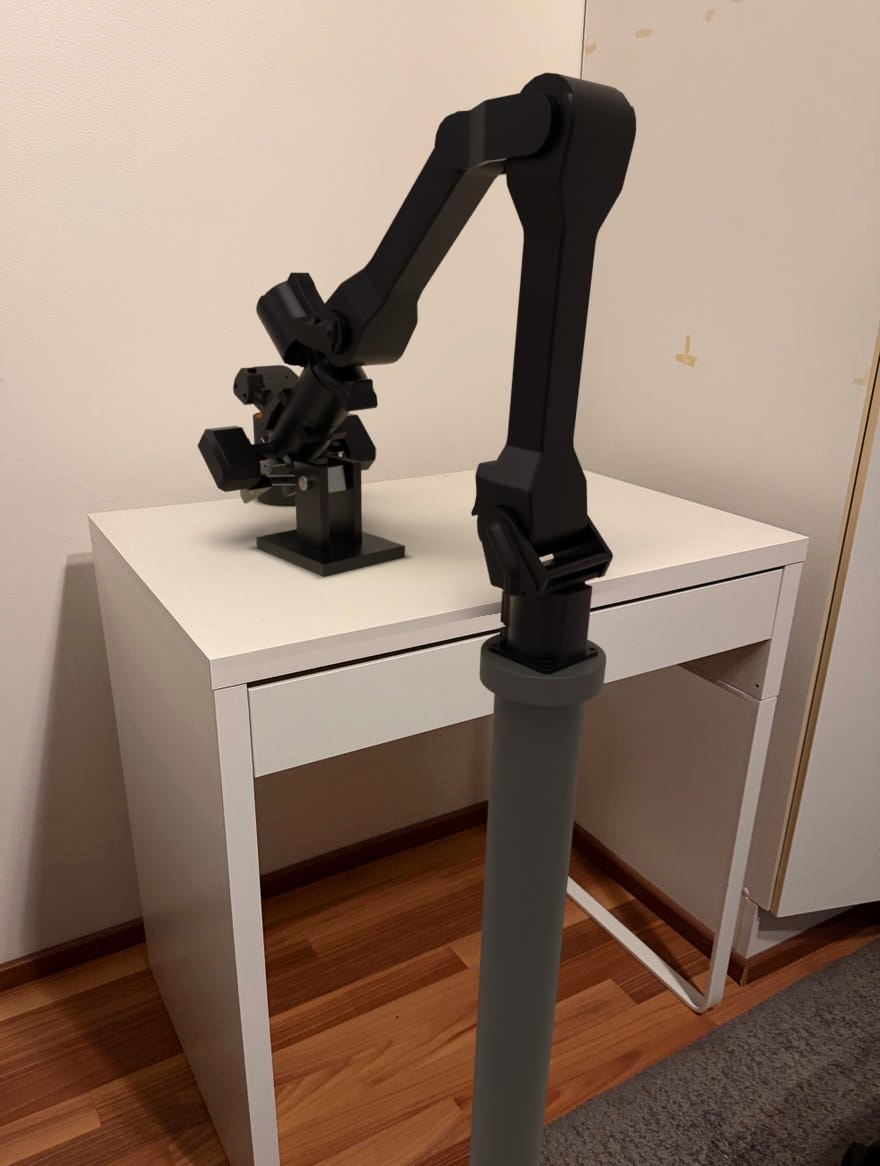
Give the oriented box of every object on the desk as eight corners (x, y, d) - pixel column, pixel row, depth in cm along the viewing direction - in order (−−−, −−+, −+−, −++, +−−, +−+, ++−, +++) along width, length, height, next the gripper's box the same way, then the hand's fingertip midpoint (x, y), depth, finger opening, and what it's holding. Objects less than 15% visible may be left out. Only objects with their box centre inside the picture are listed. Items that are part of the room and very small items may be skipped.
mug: (337, 510, 105) (335, 422, 101) (246, 503, 108) (241, 417, 104) (359, 495, 112) (358, 413, 108) (273, 488, 115) (269, 408, 111)
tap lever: (248, 494, 93) (245, 471, 93) (288, 487, 96) (285, 465, 96) (316, 495, 83) (313, 470, 83) (358, 488, 86) (355, 463, 86)
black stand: (256, 548, 90) (251, 457, 86) (335, 531, 96) (333, 446, 92) (323, 576, 81) (320, 478, 78) (405, 556, 87) (406, 464, 84)
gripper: (359, 335, 91) (304, 429, 103) (198, 342, 80) (157, 446, 92) (407, 420, 89) (344, 506, 101) (247, 439, 78) (199, 533, 90)
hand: (264, 496), depth 96 cm, fingers closed on tap lever, 5 cm apart
